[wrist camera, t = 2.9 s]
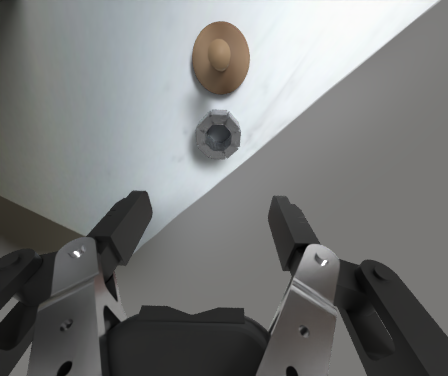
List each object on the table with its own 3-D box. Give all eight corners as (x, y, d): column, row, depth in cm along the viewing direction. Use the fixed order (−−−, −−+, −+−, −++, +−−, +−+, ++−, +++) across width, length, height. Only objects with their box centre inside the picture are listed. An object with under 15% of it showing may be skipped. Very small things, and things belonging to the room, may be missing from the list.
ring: (218, 156, 28) (217, 166, 25) (192, 129, 25) (187, 137, 22) (246, 131, 26) (249, 139, 22) (219, 100, 23) (218, 103, 20)
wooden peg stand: (205, 101, 23) (197, 110, 17) (184, 38, 19) (162, 17, 13) (254, 83, 22) (266, 85, 15) (240, 12, 18) (249, -26, 12)
